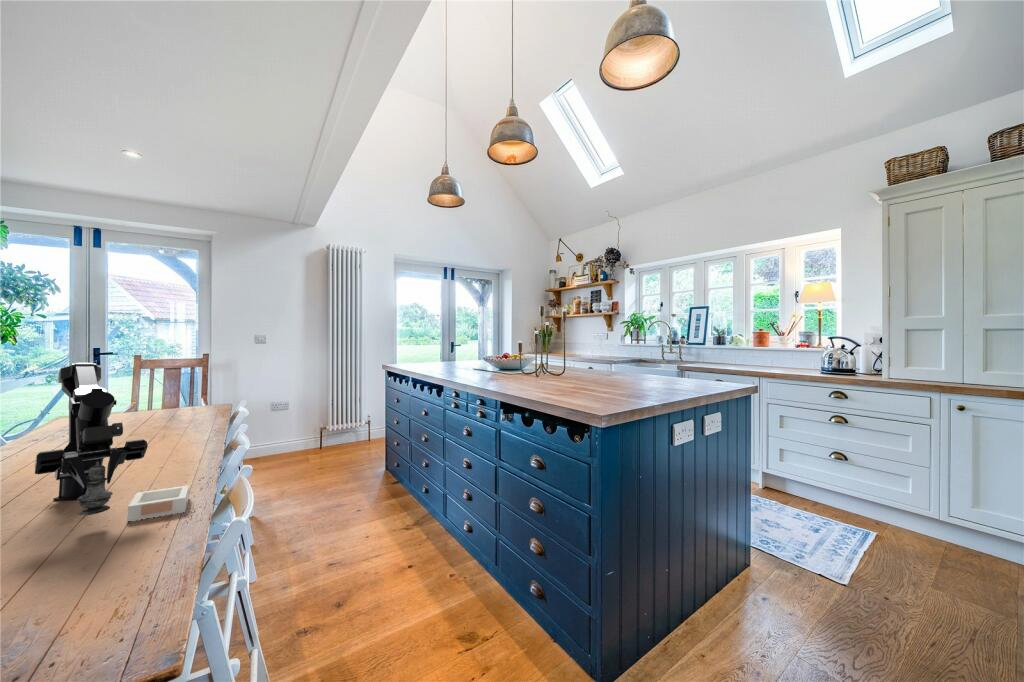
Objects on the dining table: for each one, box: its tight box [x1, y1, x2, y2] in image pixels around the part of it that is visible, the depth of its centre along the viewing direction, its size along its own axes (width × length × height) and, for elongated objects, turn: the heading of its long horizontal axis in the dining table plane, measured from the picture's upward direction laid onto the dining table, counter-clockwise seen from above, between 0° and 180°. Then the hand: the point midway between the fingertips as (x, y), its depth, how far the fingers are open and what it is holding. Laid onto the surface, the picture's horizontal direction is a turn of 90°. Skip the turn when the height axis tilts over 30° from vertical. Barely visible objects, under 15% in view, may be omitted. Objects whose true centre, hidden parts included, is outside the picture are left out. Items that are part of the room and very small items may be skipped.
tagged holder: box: [126, 484, 190, 523], centre depth 104 cm, size 11×12×4 cm
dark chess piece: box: [76, 462, 113, 516], centre depth 93 cm, size 6×6×12 cm
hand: (97, 484), depth 92 cm, fingers closed on dark chess piece, 4 cm apart
